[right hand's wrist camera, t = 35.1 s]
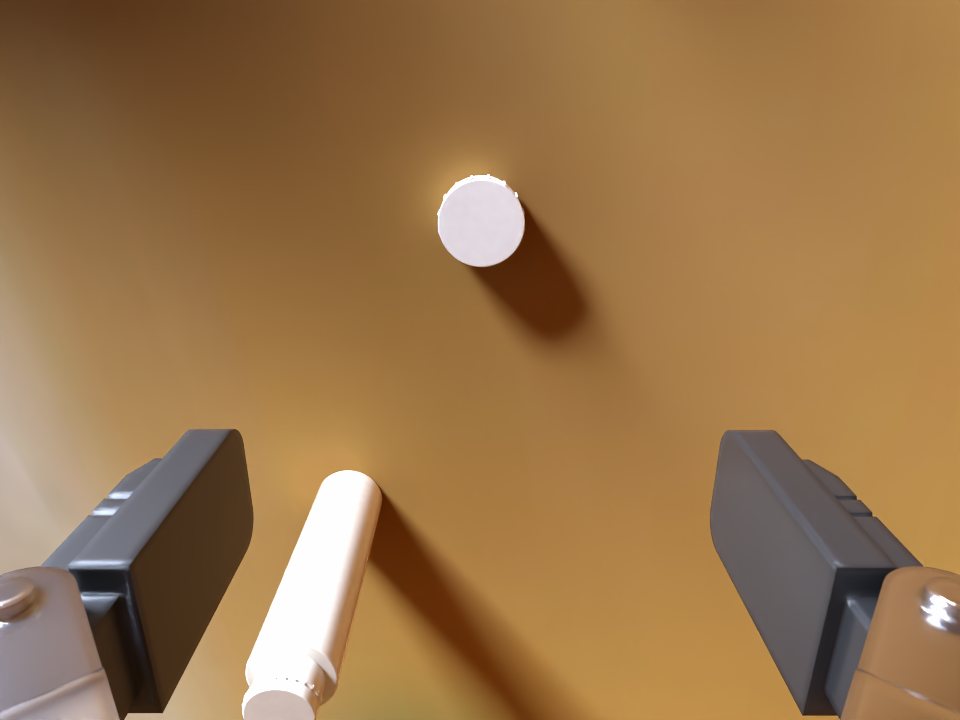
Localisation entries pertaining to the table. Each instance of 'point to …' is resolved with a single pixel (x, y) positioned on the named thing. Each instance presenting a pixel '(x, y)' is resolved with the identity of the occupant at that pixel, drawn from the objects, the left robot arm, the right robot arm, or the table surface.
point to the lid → (481, 221)
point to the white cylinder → (314, 604)
